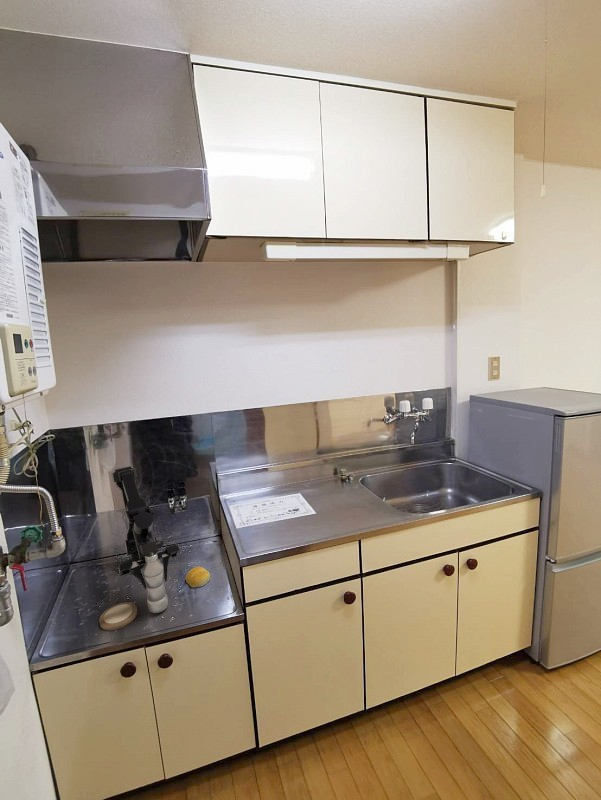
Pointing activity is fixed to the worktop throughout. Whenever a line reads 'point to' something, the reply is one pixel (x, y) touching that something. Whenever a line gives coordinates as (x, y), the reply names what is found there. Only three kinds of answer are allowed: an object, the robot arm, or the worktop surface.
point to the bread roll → (197, 577)
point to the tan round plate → (118, 616)
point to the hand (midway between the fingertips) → (156, 585)
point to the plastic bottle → (155, 583)
